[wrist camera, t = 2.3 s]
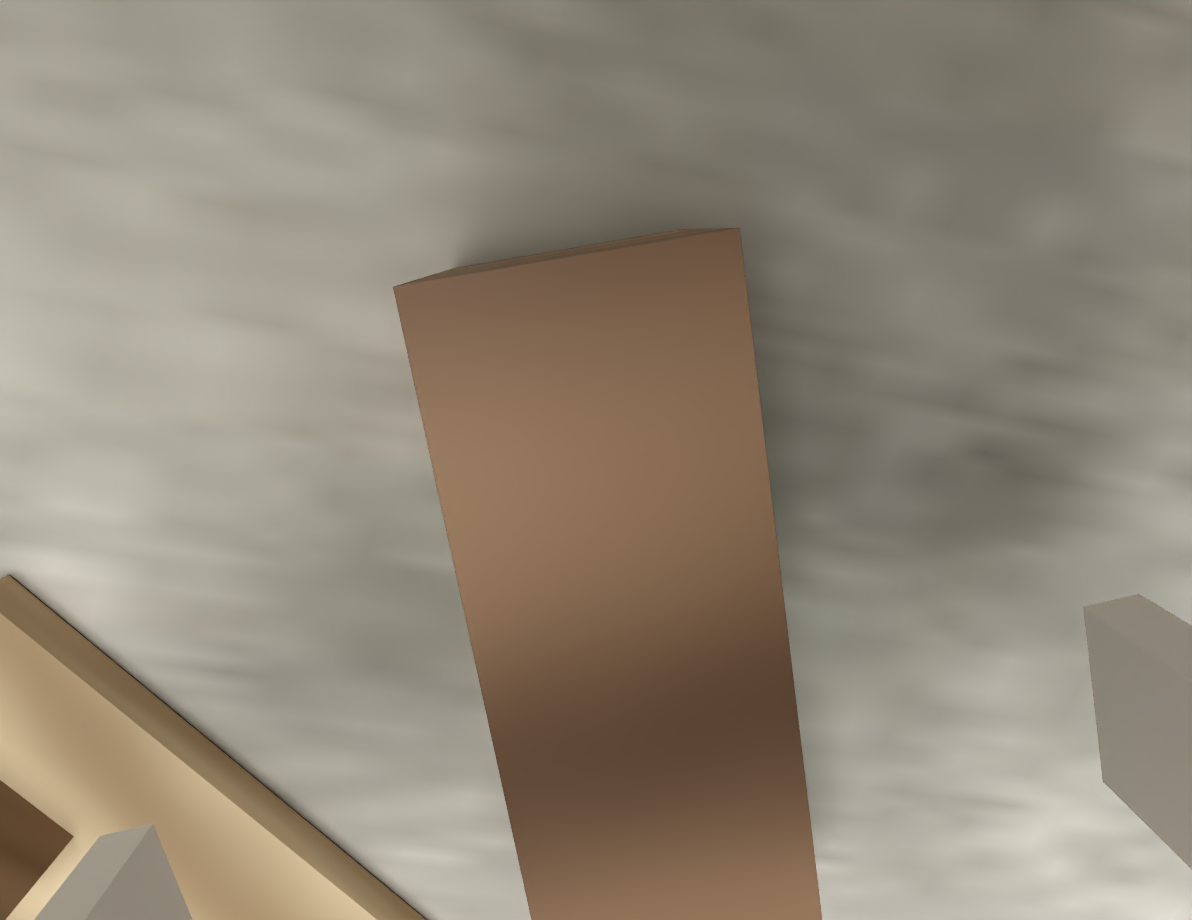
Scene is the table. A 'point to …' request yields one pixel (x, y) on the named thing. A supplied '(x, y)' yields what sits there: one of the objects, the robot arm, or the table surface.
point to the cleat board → (145, 791)
